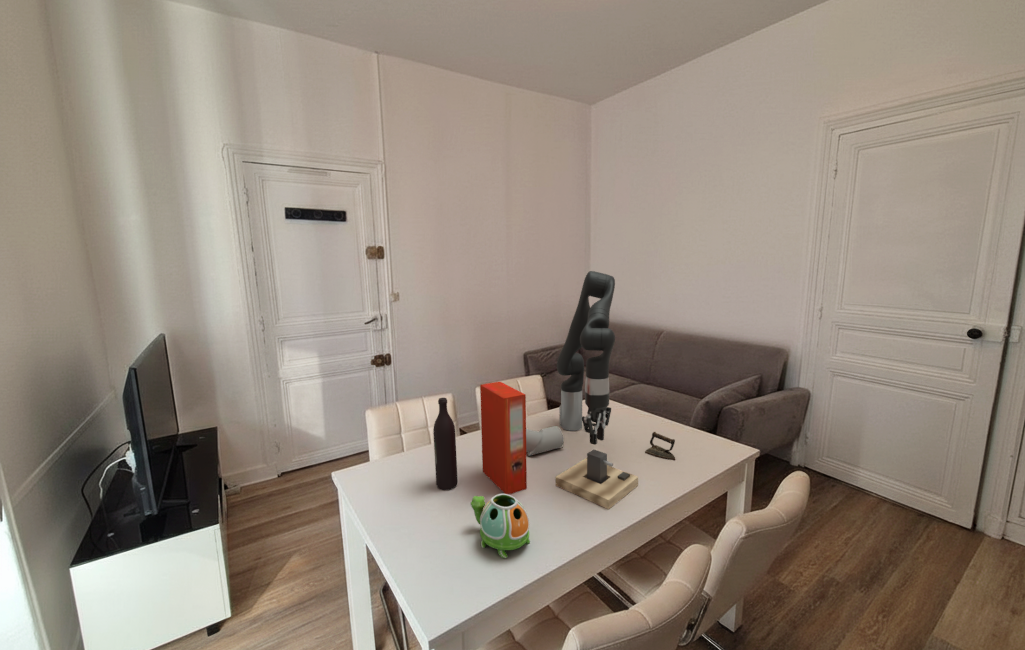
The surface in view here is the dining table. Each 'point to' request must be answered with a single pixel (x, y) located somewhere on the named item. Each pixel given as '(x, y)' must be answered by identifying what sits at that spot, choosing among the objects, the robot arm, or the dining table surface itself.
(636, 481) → the socket board
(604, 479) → the plug
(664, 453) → the clothes iron
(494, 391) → the file binder
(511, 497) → the turtle holder
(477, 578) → the dining table surface
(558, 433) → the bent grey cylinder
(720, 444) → the dining table surface
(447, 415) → the wine bottle
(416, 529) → the dining table surface
